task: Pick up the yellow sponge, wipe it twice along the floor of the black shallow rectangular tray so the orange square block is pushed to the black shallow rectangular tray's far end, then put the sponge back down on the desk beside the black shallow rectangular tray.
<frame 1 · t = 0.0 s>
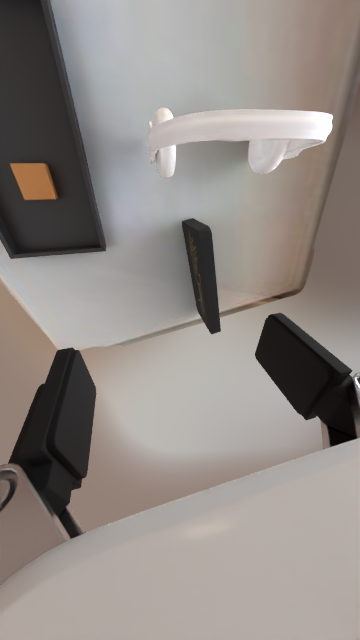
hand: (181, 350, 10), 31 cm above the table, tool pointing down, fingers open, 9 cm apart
orange square block: (37, 182, 27), point 1 cm above the table, touching black shallow rectangular tray
black shallow rectangular tray: (29, 154, 26), on the table
headset: (204, 148, 30), on the table
nameplate: (194, 270, 42), on the table
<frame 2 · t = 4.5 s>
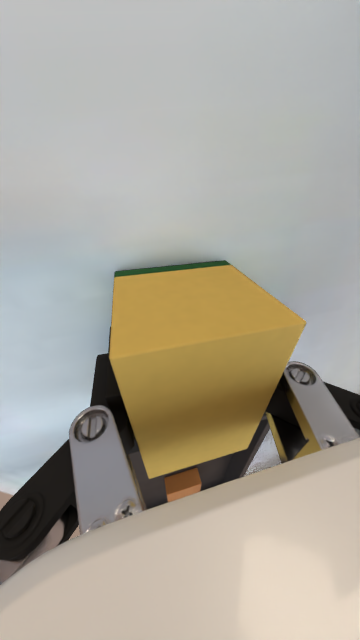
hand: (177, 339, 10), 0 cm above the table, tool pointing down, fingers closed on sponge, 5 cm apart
orange square block: (181, 477, 24), point 1 cm above the table, touching black shallow rectangular tray
sponge: (175, 334, 11), on the table, touching gripper
black shallow rectangular tray: (179, 463, 22), on the table
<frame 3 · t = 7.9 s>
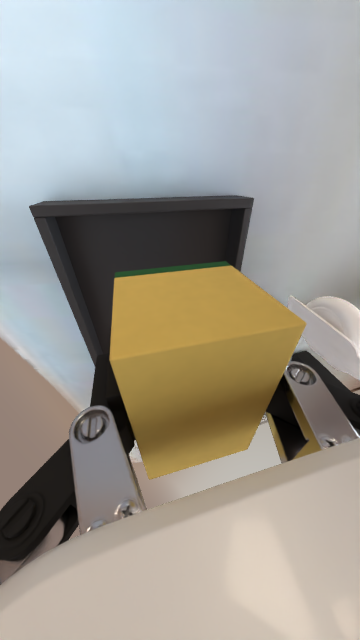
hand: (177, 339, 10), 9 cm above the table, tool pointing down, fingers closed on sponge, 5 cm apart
sponge: (175, 335, 11), point 9 cm above the table, touching gripper
black shallow rectangular tray: (160, 329, 22), on the table
headset: (343, 293, 26), on the table
nameplate: (288, 384, 38), on the table
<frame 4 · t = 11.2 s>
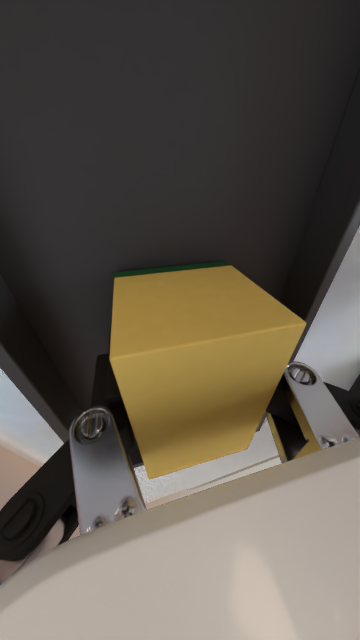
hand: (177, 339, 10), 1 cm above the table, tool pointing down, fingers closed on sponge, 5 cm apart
sponge: (175, 334, 11), point 1 cm above the table, touching orange square block, gripper
black shallow rectangular tray: (171, 311, 11), on the table
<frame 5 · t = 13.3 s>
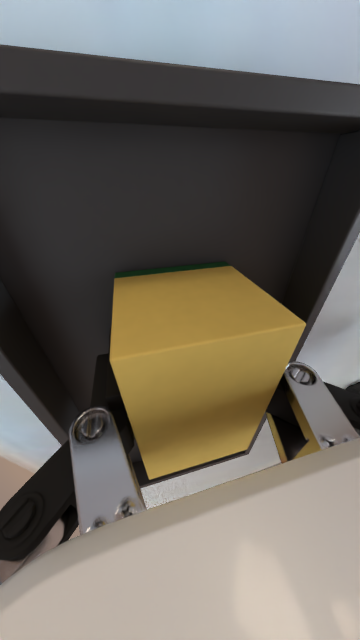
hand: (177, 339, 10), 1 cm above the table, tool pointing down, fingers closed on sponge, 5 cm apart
sponge: (175, 335, 11), point 1 cm above the table, touching gripper
black shallow rectangular tray: (174, 369, 13), on the table
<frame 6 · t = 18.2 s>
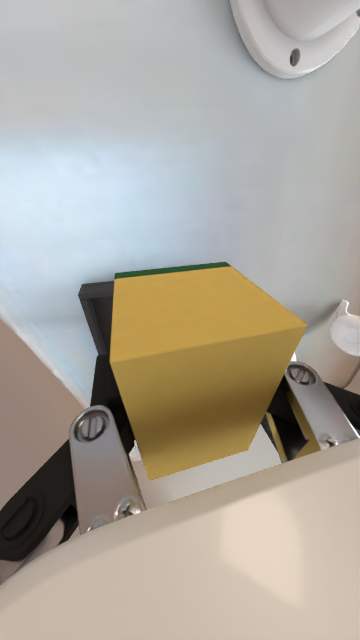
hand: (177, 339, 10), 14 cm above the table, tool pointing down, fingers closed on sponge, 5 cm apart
sponge: (175, 335, 11), point 14 cm above the table, touching gripper
black shallow rectangular tray: (154, 354, 30), on the table
headset: (292, 323, 35), on the table
when the fingers open (0 cm above the table, at t = 22.2 s): sponge stays where it is, on the table.
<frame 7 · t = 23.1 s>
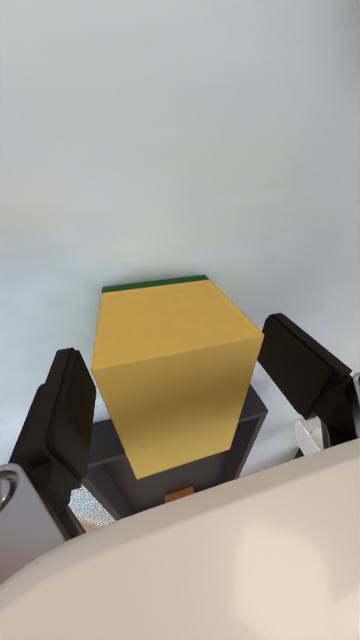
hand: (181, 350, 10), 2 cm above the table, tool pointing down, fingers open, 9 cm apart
orange square block: (178, 494, 27), point 1 cm above the table, touching black shallow rectangular tray
sponge: (162, 342, 12), on the table
black shallow rectangular tray: (175, 464, 23), on the table
headset: (346, 404, 27), on the table
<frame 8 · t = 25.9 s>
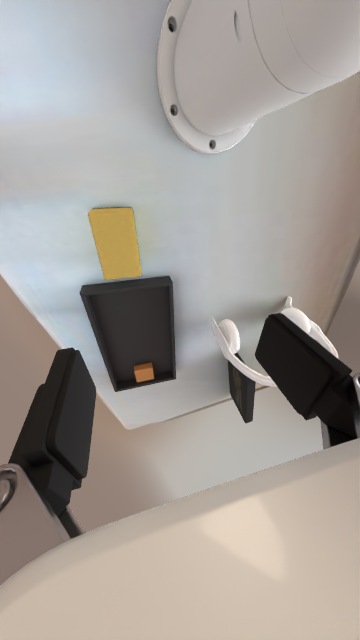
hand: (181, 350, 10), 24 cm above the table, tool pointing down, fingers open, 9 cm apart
orange square block: (143, 369, 45), point 1 cm above the table, touching black shallow rectangular tray
sponge: (118, 239, 28), on the table
black shallow rectangular tray: (138, 337, 39), on the table
headset: (248, 315, 44), on the table
nameplate: (231, 372, 55), on the table
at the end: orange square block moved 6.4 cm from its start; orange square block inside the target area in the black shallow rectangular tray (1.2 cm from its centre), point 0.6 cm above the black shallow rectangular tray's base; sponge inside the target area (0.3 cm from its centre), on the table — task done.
